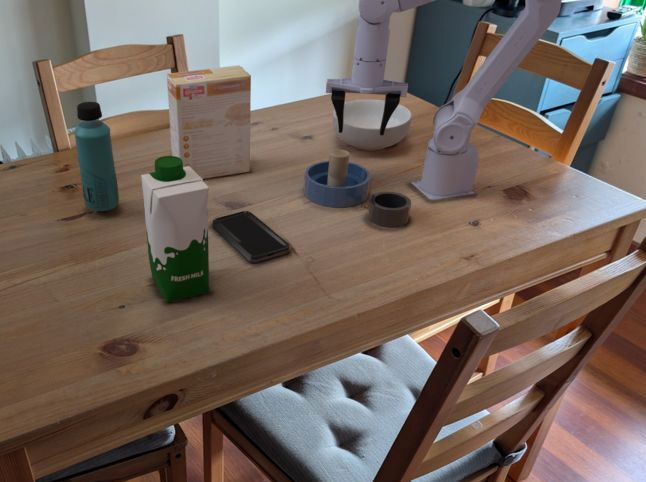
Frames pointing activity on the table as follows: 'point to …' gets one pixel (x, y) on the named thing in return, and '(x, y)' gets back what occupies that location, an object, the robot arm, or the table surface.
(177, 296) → the milk carton
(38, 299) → the table surface
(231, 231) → the phone
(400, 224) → the mortar
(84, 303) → the table surface
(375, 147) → the cereal bowl
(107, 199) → the beverage bottle
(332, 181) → the pestle
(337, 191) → the bowl
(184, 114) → the coffeecake box
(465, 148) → the robot arm
